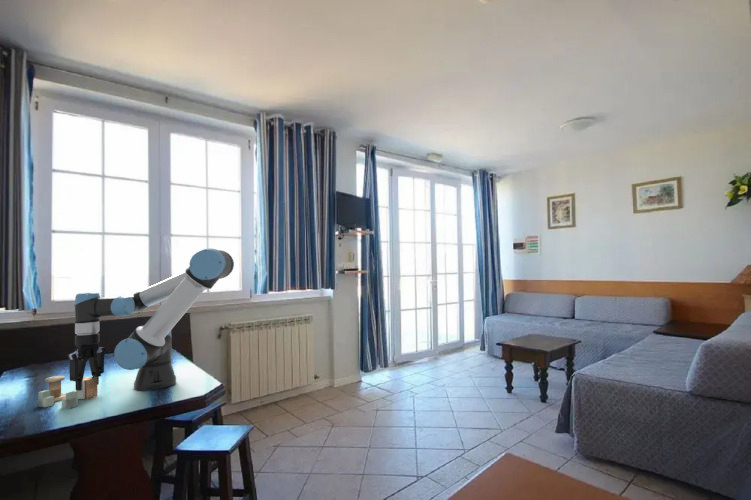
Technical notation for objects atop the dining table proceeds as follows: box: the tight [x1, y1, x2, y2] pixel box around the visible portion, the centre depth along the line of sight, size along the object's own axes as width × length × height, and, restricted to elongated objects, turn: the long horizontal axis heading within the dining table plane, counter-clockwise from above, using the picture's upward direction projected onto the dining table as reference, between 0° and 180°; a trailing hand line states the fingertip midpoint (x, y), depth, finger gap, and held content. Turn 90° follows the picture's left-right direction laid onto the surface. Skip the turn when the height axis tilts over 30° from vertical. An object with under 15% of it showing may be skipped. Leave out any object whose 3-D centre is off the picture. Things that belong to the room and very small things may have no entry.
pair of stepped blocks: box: [37, 389, 78, 409], centre depth 138 cm, size 14×2×5 cm, turn 77°
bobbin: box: [44, 375, 66, 403], centre depth 145 cm, size 7×7×8 cm
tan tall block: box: [75, 376, 98, 400], centre depth 147 cm, size 5×4×7 cm
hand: (87, 396), depth 147 cm, fingers open, 4 cm apart
